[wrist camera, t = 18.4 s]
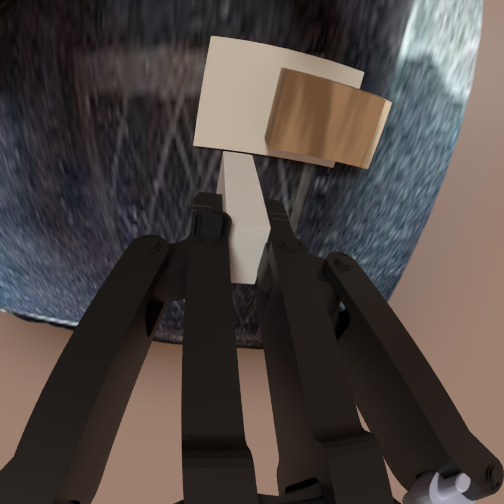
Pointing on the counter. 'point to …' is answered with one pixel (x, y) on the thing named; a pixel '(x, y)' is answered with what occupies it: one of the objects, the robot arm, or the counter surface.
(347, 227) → the counter surface
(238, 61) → the felt mat
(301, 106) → the beige rectangular box
